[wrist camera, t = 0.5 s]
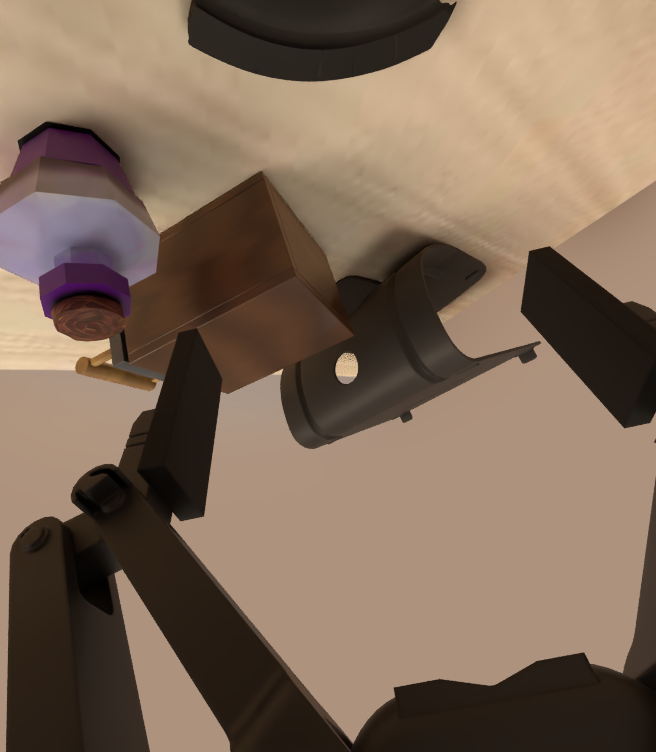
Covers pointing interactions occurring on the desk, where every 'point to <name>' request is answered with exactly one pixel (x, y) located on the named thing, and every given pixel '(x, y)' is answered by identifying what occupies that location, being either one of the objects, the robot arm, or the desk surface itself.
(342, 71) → the dark sector wedge
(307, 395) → the laptop stand
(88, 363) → the drawer
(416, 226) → the desk surface
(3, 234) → the potion bottle
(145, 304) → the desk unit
